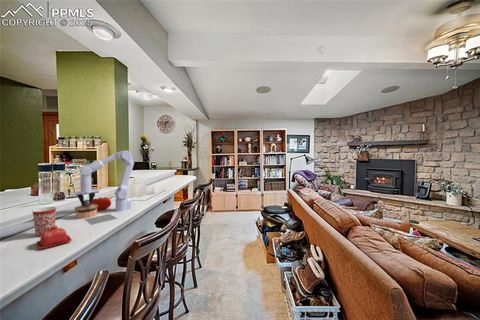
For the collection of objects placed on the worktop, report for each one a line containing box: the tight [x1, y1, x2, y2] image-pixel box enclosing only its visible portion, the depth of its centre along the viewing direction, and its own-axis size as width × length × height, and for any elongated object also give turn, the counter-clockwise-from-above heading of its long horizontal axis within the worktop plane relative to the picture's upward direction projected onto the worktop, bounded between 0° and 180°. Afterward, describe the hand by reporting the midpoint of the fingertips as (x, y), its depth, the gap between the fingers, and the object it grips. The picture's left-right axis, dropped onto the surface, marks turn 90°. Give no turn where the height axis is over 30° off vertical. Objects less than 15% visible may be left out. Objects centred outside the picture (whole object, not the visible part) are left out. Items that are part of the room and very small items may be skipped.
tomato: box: [92, 196, 112, 211], centre depth 150 cm, size 14×13×9 cm
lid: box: [74, 199, 98, 212], centre depth 132 cm, size 12×12×6 cm
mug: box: [32, 206, 57, 238], centre depth 107 cm, size 13×9×14 cm
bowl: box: [75, 208, 98, 220], centre depth 133 cm, size 11×11×4 cm
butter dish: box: [36, 225, 73, 250], centre depth 95 cm, size 12×12×8 cm
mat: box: [83, 213, 118, 226], centre depth 127 cm, size 14×14×1 cm
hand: (86, 205), depth 133 cm, fingers closed on lid, 3 cm apart
